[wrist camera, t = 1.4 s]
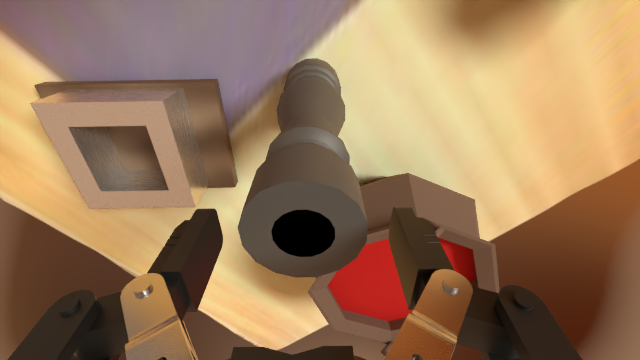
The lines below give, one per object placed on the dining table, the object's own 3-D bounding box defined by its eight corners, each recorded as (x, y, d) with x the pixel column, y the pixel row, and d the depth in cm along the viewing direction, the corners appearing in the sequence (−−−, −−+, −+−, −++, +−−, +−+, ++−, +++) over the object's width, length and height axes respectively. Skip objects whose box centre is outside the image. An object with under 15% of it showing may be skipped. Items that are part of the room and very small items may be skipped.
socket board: (45, 82, 33) (34, 85, 32) (217, 79, 33) (213, 82, 32) (96, 183, 41) (89, 189, 40) (237, 181, 41) (235, 187, 39)
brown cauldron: (302, 143, 38) (293, 228, 24) (484, 146, 38) (578, 231, 24) (304, 268, 51) (299, 370, 37) (440, 269, 51) (486, 370, 37)
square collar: (67, 89, 32) (29, 103, 28) (183, 87, 32) (162, 101, 28) (113, 186, 39) (89, 208, 35) (208, 184, 39) (195, 207, 35)
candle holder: (349, 92, 34) (400, 245, 13) (308, 121, 36) (293, 296, 15) (318, 46, 31) (318, 144, 10) (275, 80, 33) (201, 223, 12)
